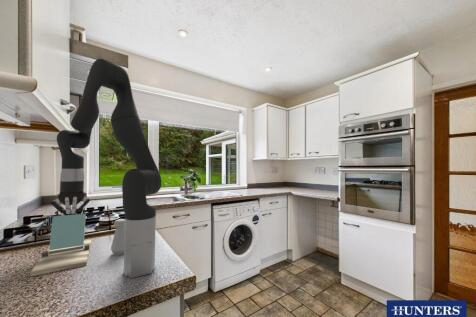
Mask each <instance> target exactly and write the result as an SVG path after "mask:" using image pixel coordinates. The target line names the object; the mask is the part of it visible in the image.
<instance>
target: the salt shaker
mask: <svg viewBox="0 0 476 317" xmlns="http://www.w3.org/2000/svg"><path fill="white" fill-rule="evenodd" d="M113 226H114V227H115V231H114V235H113V239H112V243H111V247H110V250H111V252H112V254H113V256H124V236H125V218H120V219H116V220H115V221H114V222H113Z"/></svg>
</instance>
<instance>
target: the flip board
mask: <svg viewBox="0 0 476 317" xmlns="http://www.w3.org/2000/svg"><path fill="white" fill-rule="evenodd" d="M92 242H93V238H86V239H84V245H81V246H84V248H83V249H78V250H72V251H66V252H60V253H54V254H49V251H55V250H49V247H50V245H49V246H48V247H47V249H46V250H43V251H42V252H41V257H40V259H39V260H38V261H37V263H36V264H34V267H33V268H32V269H31V270H30V272H29V277H34V276H38V275H44V274H48V273H49V274H50V273H54V272H59V271H64V270H68V269H73V268H78V267H83V266H84V267H85V266H87V264H88V260H89V255H90V251H91V247H92ZM75 247H80V246H75ZM68 248H73V247H68ZM62 249H67V248H62ZM56 250H61V249H56Z"/></svg>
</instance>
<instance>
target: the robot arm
mask: <svg viewBox="0 0 476 317" xmlns="http://www.w3.org/2000/svg"><path fill="white" fill-rule="evenodd" d="M128 73H129V72H127V70H126V69H125V68H124V67H122V66H120V65H118V64H116V63H114V62H111V61H109V60H108V59H104V58H98V59H96V60H95V61H93V63H92V64H91V66H90V70H89V72H88V75H87V77H86V78H87V79H86V82H85V85H84V89H83V92H82V97H81V99H80V100H81V101H80V103H79V105H78V108H77V109H76V112H75V113H74V115H73V117H72V119H71V122H70V126H71V127H72V128H73V129H75V130H70V129H63V130H60V131H59V132H58V133H57V135H56V143H57V146H58V148H59V152H60V157H61V170H60V179H59V194H58V196H57V198H56V199H54V200H52V201H50V204H51V205H52V206H53V207H54V208H55V209H56V210H57V211H58V212H59V213H60V214H64V215H76V214H78V213H80V212H81V211H82V210H83V209H84V208H85V207H86V206H87V205H88V204H89V202H90V201H91V198H90V197H86V195H85V191H84V190H85V189H84V186H85V171H84V169H85V166H84V165H85V158H84V155H82V154H78V153H76V152H74V151H73V150H72V149H78V150H79V149H81V150H83V149H86V148H87V147H89V145H90V143H91V136H92V132H93V131H92V130H93V128H94V126H95V124H96V122H97V121H98V118H99V115H100V107H99V103H98V93H99V91H100V88H102V87H103V88H107V89H109V90H111V91H112V90H113V92H114V94H115V97H116V105H115V107H114V109H113V111H112V113H111V115H110V116H111V117H110V124H111V127H112V131H113V134H114V137H115V138H116V140H117V142H118V143H119V144H120V146H121V147H122V148H123V149H124V150H125V152H127V153H128V155H129V156H131V158H132V160H133V161H134V164H135V166H136V168H130V169H128V170H127V171H126V172H125V174H124V175H123V178H122V187H121V189H122V191H121V192H122V208H123V211H124V219H125V236H124V254H123V275H124V276H125V277H128V278H129V279H133V278H138V277H141V276H145V275H149V274H152V273H153V270H155V262H156V228H157V227H156V226H157V225H156V224H157V220H156V219H157V215H156V214H157V209H156V207H155V206H153V205H151V204H150V205H149V204H148V201H147V196H152V195H155V194H157V193H158V192H160V190H161V189H162V176H161V173H160V171H159V168H158V166H157V164H156V162H155V160H154V157H153V155H152V153H151V152H152V151H151V150H150V147H149V144H148V141H147V138H146V136H145V132H144V129H143V125H142V122H141V118H140V117H139V114H138V110H137V106H136V102H135V98H134V95H133V91H132V90H133V89H132V86H131V81H130V77H129V74H128ZM81 201H82V204H81V205H80V206H79V207H78V205H79V204H80V203H81ZM60 203H61V204H63V205H64V206H65V207H63V206H62V205H61V204H60ZM77 207H78V208H77Z"/></svg>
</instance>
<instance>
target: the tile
mask: <svg viewBox="0 0 476 317" xmlns="http://www.w3.org/2000/svg"><path fill="white" fill-rule="evenodd" d="M86 215H87V214H86V213H76V215H66V214H64V215H58V216H57V215H55V216H52V220H51V231H50V240H49V246H50V247H49V246H48V248H49V250H55V251H49V254H54V253H60V252H66V251H72V250H78V249H83V248H84V246H81V245H84V240H85V231H86V230H85V228H86ZM75 246H80V247H75ZM68 247H73V248H68ZM62 248H67V249H62ZM56 249H61V250H56Z"/></svg>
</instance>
